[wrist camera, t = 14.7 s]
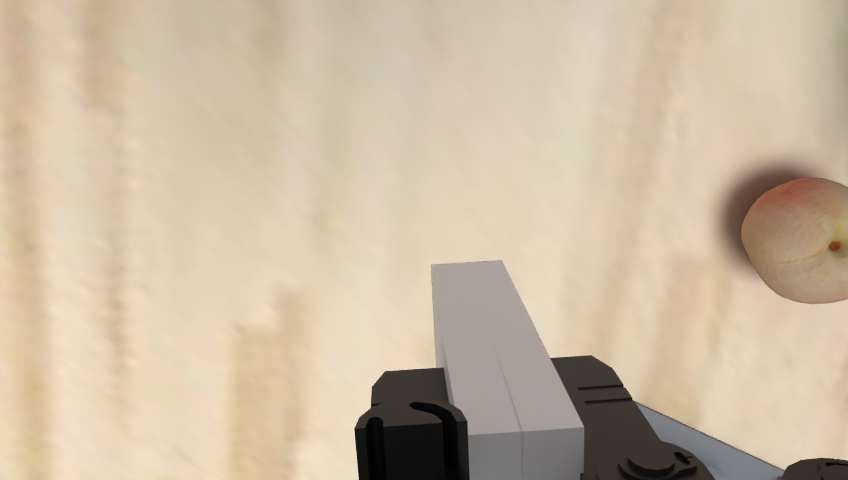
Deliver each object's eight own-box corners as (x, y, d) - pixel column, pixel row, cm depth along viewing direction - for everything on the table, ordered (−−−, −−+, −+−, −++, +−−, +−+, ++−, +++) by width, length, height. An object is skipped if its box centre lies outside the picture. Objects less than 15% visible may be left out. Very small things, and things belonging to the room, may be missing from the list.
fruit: (825, 152, 48) (908, 174, 40) (841, 258, 50) (923, 298, 42) (712, 189, 48) (773, 217, 40) (733, 292, 50) (795, 338, 42)
